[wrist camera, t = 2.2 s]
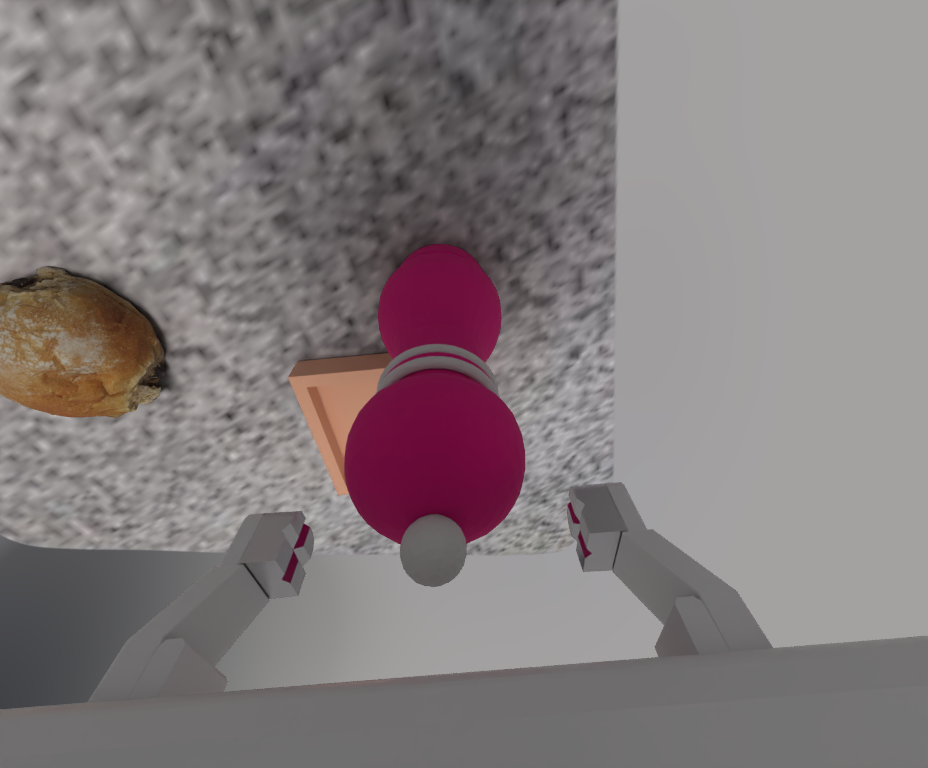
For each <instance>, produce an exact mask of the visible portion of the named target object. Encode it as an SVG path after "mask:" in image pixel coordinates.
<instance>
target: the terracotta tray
mask: <svg viewBox="0 0 928 768" xmlns="http://www.w3.org/2000/svg"><path fill="white" fill-rule="evenodd" d="M392 360H393V359H392V357H391V356H390V355H389V353H382V354H371V355H360V356H350V357H339V358H328V359H317V360H307V361H298V362H297V364H296V365H295V367H294V369H293V370H292V372H291V373H290V375H289V377H288V378H289V381H290V383H291V385H292V388H293V390H294V392H295V395H296V397H297V399H298V402H299V404H300V406H301V409H302V411H303V413H304V416H305V418H306V421H307V423H308V425H309V428H310V430H311V432H312V435H313V437H314V439H315V442H316V444H317V446H318V449H319V451H320V453H321V456H322V458H323V460H324V463H325V465H326V467H327V470H328V472H329V474H330V477H331V479H332V481H333V484H334V486H335V488H336V491H337V493H338V495H345V494H349V492H348V490H347V485H346V480H345V475H344V457H345V448H346V442H347V437H348V434H349V432H350V429H351V427H352V425H353V423H354V421H355V419H356V417H357V415H358V413H359V411H360V410H361V409H362V408H363V407H364V405H365V404H366V403H367V402H368V401H369V400H370V399H371V398H372V397H373V396H374V395H375V394H376V391H377V385H378V381H379V379H380V376H381V374H382V373H383V371H384V369H385V368H386V367H387V365H388V364H389V363H390V362H391V361H392Z"/></svg>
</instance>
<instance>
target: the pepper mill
mask: <svg viewBox="0 0 928 768" xmlns="http://www.w3.org/2000/svg"><path fill="white" fill-rule="evenodd" d="M378 322H379V330H380V333H381V337H382V340H383V343H384V345H385V347H386V349H387V351H388V353H389V355H390V356H391V357H392V359H393V360H392V361H391V362H390V363H389V364H388V365H387V367H386V368H385V369H384V371H383V373H382V374H381V376H380V379H379V381H378V385H377V391H376V394H375V395H374V396H373V397H372V398H371V399H370V400H369V401H368V402H367V403H366V404H365V405H364V407H363V408H362V409H361V410H360V411H359V413H358V415H357V417H356V419H355V421H354V423H353V425H352V427H351V429H350V432H349V434H348V437H347V442H346V448H345V457H344V475H345V480H346V485H347V490H348V492H349V495H350V497H351V499H352V502H353V503H354V505H355V507H356V509H357V511H358V513H359V514H360V515H361V516H362V518H363V519H364V520H365V521H366V523H367V524H368V525H370V526H371V527H372V528H373V529H375V530H376V531H377V532H378V533H380V534H381V535H383V536H385V537H387V538H389V539H391V540H393V541H395V542H397V543H398V544H401V546H400V557H401V561H402V565H403V568H404V570H405V571H406V573H407V574H408V575H409V576H410V577H411V578H412V579H413V580H414V581H415V582H416V583H419V584H421V585H424V586H431V587H436V586H441V585H443V584H445V583H448V582H450V581H451V580H453V579H454V578H455V577H456V576H457V575H458V574H459V572H460V570H461V569H462V567H463V565H464V562H465V558H466V544H467V543H469V542H471V541H473V540H476V539H478V538H480V537H482V536H484V535H487V534H488V533H489V532H490V531H492V530H493V529H494V528H495V527H496V526H498V525H499V524H500V523H501V522H502V521H503V520H504V519H505V518H506V516H507V515H508V513H509V512H510V510H511V509H512V508H513V506H514V504H515V502H516V500H517V498H518V496H519V494H520V491H521V487H522V483H523V478H524V472H525V449H524V443H523V438H522V434H521V431H520V429H519V426H518V424H517V422H516V420H515V417H514V415H513V413H512V412H511V411H510V409H509V408H508V407H507V406H506V404H505V403H504V402H503V401H502V400H501V399H500V397H499V394H498V386H497V383H496V379H495V377H494V375H493V373H492V372H491V370H490V369H489V367H488V366H487V365H486V364H485V362H486V361H487V359H488V358H489V356H490V355H491V353H492V352H493V349H494V347H495V345H496V342H497V339H498V336H499V333H500V329H501V306H500V300H499V296H498V293H497V290H496V288H495V287H494V285H493V283H492V281H491V279H490V278H489V277H488V276H487V275H486V274H485V273H484V271H483V270H482V269H481V267H480V266H479V264H478V262H477V261H476V260H475V259H474V258H473V257H472V256H471V255H470V254H468V253H467V252H465V251H464V250H462V249H460V248H458V247H455V246H452V245H447V244H433V245H428V246H425V247H422V248H420V249H418V250H416V251H414V252H413V253H412V254H410V255H409V256H408V257H407V258H406V259H405V260H404V262H403V263H402V265H401V266H400V267H399V268H398V269H397V270H396V271H395V272H394V273H393V274H392V275H391V276H390V278H389V279H388V281H387V282H386V284H385V286H384V288H383V291H382V294H381V297H380V303H379V310H378Z"/></svg>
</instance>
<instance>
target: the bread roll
mask: <svg viewBox="0 0 928 768" xmlns="http://www.w3.org/2000/svg"><path fill="white" fill-rule="evenodd" d="M36 271H37V273H38V275H39V276H33V277H30V278H21V279H15V280H13V281H12V282H5V283H0V394H1V395H2V396H4V397H6V398H8V399H10V400H12V401H14V402H17V403H19V404H21V405H23V406H26V407H28V408H31V409H35V410H39V411H43V412H47V413H49V414H52V415H59V416H65V417H93V416H108V417H113V418H117V417H120V416H121V415H123V414H125V413H127V412H131V411H135V410H136V409H137V407H138V405H139V404H149V403H151V402H153V401H154V400H155V399H156V398H157V397H158V396H159V395H160V391H161V387H159V386H158V385H157V382H158V381H159V380H160V378H161V377H162V376H164V375H165V374H166V372H165V369H164V368H165V365H164V362H163V361H164V356H165V355H164V354H165V352H164V350H163V347H162V346H161V344H160V342H159V340H158V338H157V337H156V333H155V329H154V327H153V326H152V324H151V323H150V321H149V320H147V319H146V317H145V316H144V315H142V314H140V313H139V312H138V310H137V309H136V308H135V307H134V306H133V305H132V304H131V303H130V302H129V301H126V300H124V299H123V298H121V297H119V296H118V295H116V294H115V293H113V292H112V291H110V290H109V289H107V288H105V287H103V286H101V285H100V284H98V283H96V282H94V281H92V280H89V279H86V278H81V277H73V276H71V275H70V274H68V273H67V272H66V270H65V269H60V268H51V267H43V268H40V269H36Z"/></svg>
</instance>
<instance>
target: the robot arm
mask: <svg viewBox="0 0 928 768" xmlns="http://www.w3.org/2000/svg"><path fill="white" fill-rule="evenodd" d="M569 498H570V501H571V502H570V503H569V504H568V505H567V517H568V524H569V529H570V532H571V535H572V537H573V538H574V539H575V540H576V541H577V549H576V551H577V554H578V557H579V561H580V564H581V567H582V570H583V572H590V571H608V570H613V573H614V574H615V575H616V576H617V577H618V578H619V579H620V580H621V581H622V582H623V583H624V584H625V585H626V586H627V587H628V588H629V589H630V590H631V591H632V592H633V593H634V594H635V595H636V596H637V597H638V599H639V600H640V601H641V602H642V603H643V604H644V605H645V606H646V607H647V608H648V609H649V610H650V611H651V612H652V613H653V614H654V615H655V616H656V617H657V618H658V619H659V620H660V621H661V622H662V623H663V625H664V627H663V630H662V632H661V634H660V637H659V638H658V641H657V643H656V645H655V649H656V652H657V654H658V657H655V658H642V659H630V660H618V661H606V662H592V663H581V664H580V663H579V664H568V665H554V666H542V667H529V668H516V669H504V670H491V671H480V672H466V673H453V674H441V675H428V676H416V677H404V678H391V679H378V680H365V681H353V682H341V683H328V684H316V685H303V686H290V687H278V688H265V689H253V690H241V691H228V692H224V690H225V687H226V684H227V679H226V676H225V675H223V674H222V673H221V672H220V671H219V670H218V669H217V668H216V667H215V666H216V664H217V663H218V662H219V661H220V659H221V658H222V657H223V656H224V655H225V653H226V652H227V651H228V650H229V649H230V648H231V646H232V645H233V644H234V643H235V642H236V640H237V639H238V638H239V637H240V636H241V634H242V633H243V632H244V631H245V630H246V628H247V627H248V626H249V625H250V624H251V622H252V621H253V620H254V619H255V618H256V616H257V615H258V614H259V613H260V612H261V610H262V609H263V608H264V607H265V606H266V604H267V603H268V602H269V599H272V598H273V599H274V598H283V597H291V596H298V595H299V592H300V589H301V585H302V583H303V580H304V577H305V574H306V573H305V571H304V568H303V566H304V565H305V564H306V563H307V562H308V561H309V560H310V558H311V555H312V552H313V545H314V537H313V532H312V530H311V528H310V527H309V526H307V525H305V524H304V521H305V516H304V515H303V513H302V511H296V512H279V513H264V514H251V515H249V516H248V517H247V518H245V519H244V521H243V523H242V525H241V527H240V529H239V530H238V532H237V534H236V536H235V538H234V540H233V542H232V543H231V545H230V547H229V549H228V551H227V553H226V555H225V557H224V559H223V561H222V562H221V564H220V566H217V567H213V568H212V569H211V570H210V571H209V572H207V573H206V574H205V575H204V576H203V577H202V578H201V579H199V580H198V581H197V582H196V583H195V584H193V585H192V586H191V587H190V588H189V589H187V590H186V591H185V592H184V593H183V594H182V595H180V596H179V597H178V598H177V599H176V600H175V601H173V602H172V603H171V604H170V605H169V606H168V607H166V608H165V609H164V610H163V611H162V612H160V613H159V614H158V615H157V616H156V617H154V618H153V619H152V620H151V621H150V622H148V623H147V624H146V625H145V626H144V627H143V628H141V629H140V630H139V631H138V632H137V633H135V634H134V635H133V636H132V637H131V638H130V639H128V640H127V641H126V643H125V645H124V646H123V647H122V649H121V651H120V652H119V654H118V655H117V657H116V658H115V660H114V662H113V663H112V665H111V666H110V668H109V669H108V671H107V672H106V674H105V676H104V677H103V679H102V680H101V682H100V683H99V685H98V686H97V688H96V690H95V691H94V693H93V694H92V696H91V697H90V699H89V701H88V702H87V703H79V704H78V703H77V704H66V705H53V706H40V707H28V708H15V709H3V710H0V768H928V636H917V637H907V638H895V639H882V640H870V641H858V642H844V643H833V644H819V645H806V646H794V647H781V648H773V647H772V645H771V644H770V642H769V641H768V639H767V638H766V636H765V634H764V633H763V631H762V630H761V628H760V627H759V625H758V624H757V622H756V620H755V619H754V617H753V616H752V614H751V613H750V611H749V609H748V608H747V606H746V605H745V603H744V602H743V600H742V598H741V597H740V595H739V594H738V592H737V591H736V590H734V589H733V588H732V587H730V586H729V585H728V584H726V583H725V582H724V581H722V580H721V579H719V578H718V577H717V576H715V575H714V574H713V573H711V572H710V571H708V570H707V569H706V568H704V567H703V566H702V565H700V564H699V563H698V562H696V561H695V560H693V559H692V558H691V557H689V556H688V555H687V554H685V553H684V552H682V551H681V550H680V549H679V548H677V547H676V546H675V545H673V544H672V543H670V542H669V541H668V540H666V539H665V538H663V537H662V536H661V535H660V534H658V533H657V532H655V531H654V530H647V528H646V526H645V524H644V522H643V520H642V518H641V516H640V515H639V513H638V511H637V509H636V507H635V505H634V503H633V501H632V499H631V497H630V495H629V493H628V491H627V490H626V488H625V486H624V484H622V483H621V482H619V483H608V484H594V485H584V486H574V487H570V489H569Z"/></svg>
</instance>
